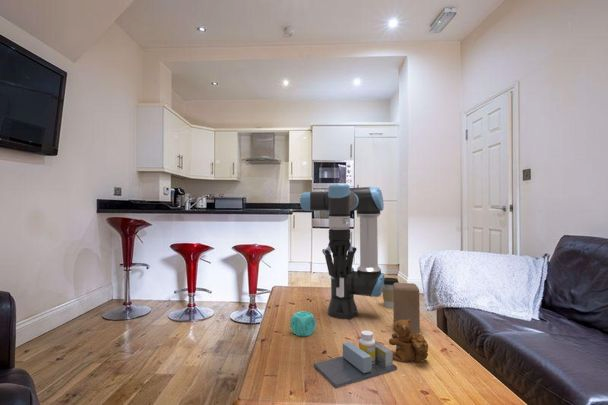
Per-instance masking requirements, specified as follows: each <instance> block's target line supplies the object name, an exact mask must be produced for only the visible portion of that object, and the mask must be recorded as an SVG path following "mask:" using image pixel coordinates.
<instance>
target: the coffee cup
mask: <svg viewBox="0 0 608 405" xmlns="http://www.w3.org/2000/svg"><path fill="white" fill-rule="evenodd" d="M394 283H400V281H399V279H398V278H395V277H384V286H383V291H382V299H383V307H384V308H387V309H393V284H394Z"/></svg>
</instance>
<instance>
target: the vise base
mask: <svg viewBox="0 0 608 405" xmlns="http://www.w3.org/2000/svg"><path fill="white" fill-rule="evenodd" d="M393 354H394V353H393V350H392V349H391V348H389V347H387V346H385V345H383V344H382V343H381V342H379V341H377V340H375V363H374V364H372V369H371V371H370V372H366V373H363V372H361V371H360V370H359V369H358V368H356V367H355V366H354V365H352V364H351V363H350V362H349V361H347V360H346V359H345V358H344V357H343V355H341V356H338V357H333V358H330V359H326V360H325V359H324V360H322V361H318V362H314V363H313V367H314V368H315V370H317V371H318V372H319V373H320V374H321V375H322V376H323V377H324V378H325V379H326V380H327V381H328V382H329V383H330V384H331V385H332V386H333V387H334V389H337V388H341V387H343V386H347V385H351V384H355V383H358V382H360V381H364V380H367V379H371V378H374V377H376V376H377V377H378V376H381V375H384V374H387V373H390V372H394V371H397V370H398V366H397V365H396V364H394V362H393V361H394V360H393Z"/></svg>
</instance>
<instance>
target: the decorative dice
mask: <svg viewBox="0 0 608 405" xmlns="http://www.w3.org/2000/svg"><path fill="white" fill-rule="evenodd" d="M289 321H290V323H289V324H290V328H291V332H292V333H293V334H294V335H295V334H296V335H295V336H297V335H298V337H309V336H311V335H312V334H313V332H314V331H315V329H316V324H317V322H316V318H315V317H314V315H313V314H312V313H311V312H310V311H303V310H302V311H297V312H294V313H293V315H291V319H290V320H289Z"/></svg>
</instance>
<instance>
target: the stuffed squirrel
mask: <svg viewBox="0 0 608 405" xmlns="http://www.w3.org/2000/svg"><path fill="white" fill-rule="evenodd" d="M409 323H410V320H399V321H396V322H395V323H394V322H393V323H392V333H391V338H389V340H388V344H389V345H390V346H395V353H393V361H397V362H400V363H401V362H402V363H406V362H410V361H413V362H416V363H422V362H424V361H425V360H426V359H427V358H428V356H429V353H428V352H429V344H428V341H427V340H426V338H425V337H424V336H423V334H421V333H420V334H418V333H414V334H413V335H412V333H411V332H410V324H409Z"/></svg>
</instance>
